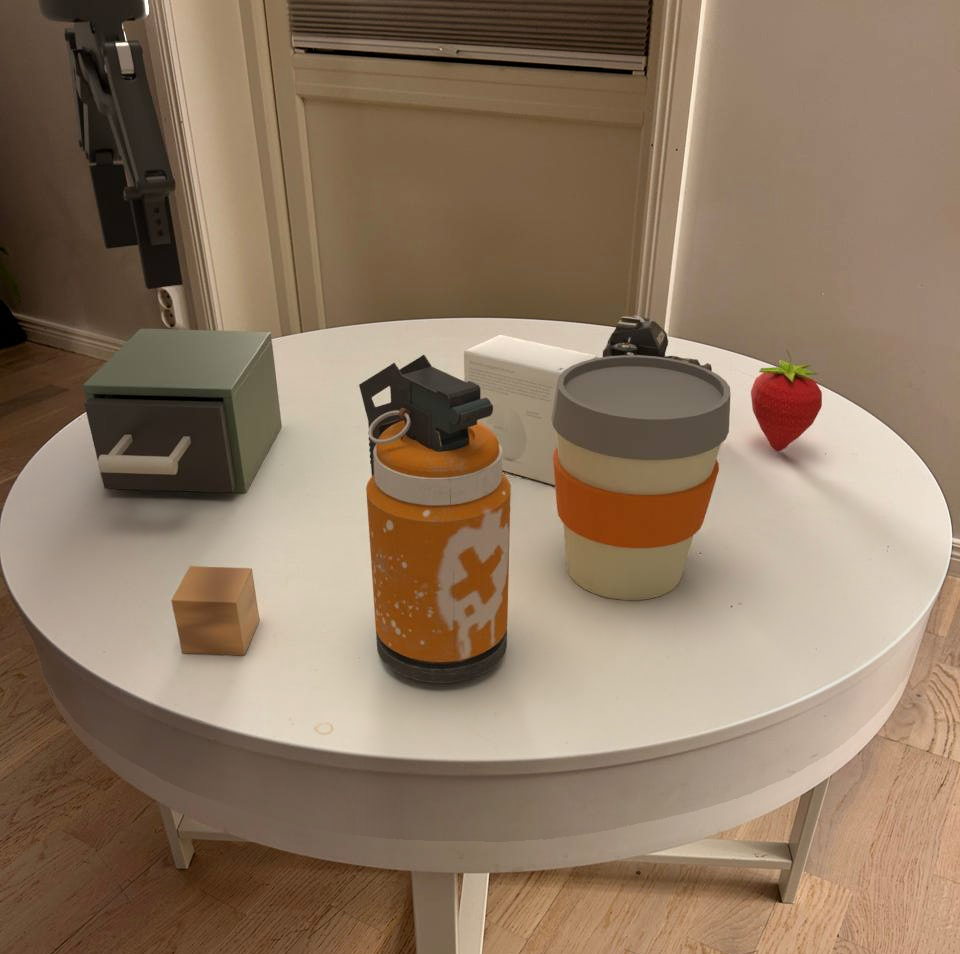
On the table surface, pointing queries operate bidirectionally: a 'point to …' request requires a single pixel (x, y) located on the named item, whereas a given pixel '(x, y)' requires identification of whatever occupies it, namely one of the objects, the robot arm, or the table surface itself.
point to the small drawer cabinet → (204, 382)
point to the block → (216, 610)
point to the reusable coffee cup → (635, 468)
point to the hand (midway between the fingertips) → (141, 265)
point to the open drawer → (162, 442)
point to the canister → (436, 525)
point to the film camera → (641, 340)
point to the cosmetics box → (521, 399)
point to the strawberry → (785, 402)
